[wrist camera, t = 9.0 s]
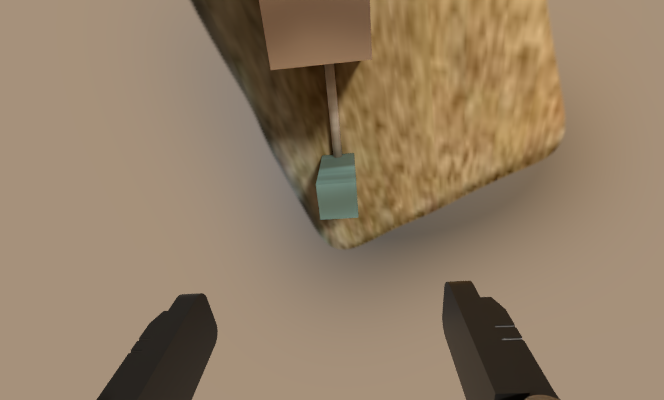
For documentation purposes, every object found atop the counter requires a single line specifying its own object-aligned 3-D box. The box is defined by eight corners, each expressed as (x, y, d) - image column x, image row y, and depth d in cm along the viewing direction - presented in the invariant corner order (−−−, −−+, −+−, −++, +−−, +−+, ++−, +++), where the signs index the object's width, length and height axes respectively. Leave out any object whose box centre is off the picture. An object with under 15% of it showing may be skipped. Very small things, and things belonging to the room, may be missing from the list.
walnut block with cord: (282, -21, 21) (249, -56, 14) (359, -32, 20) (366, -72, 13) (311, 185, 27) (299, 236, 20) (370, 181, 27) (378, 231, 20)
